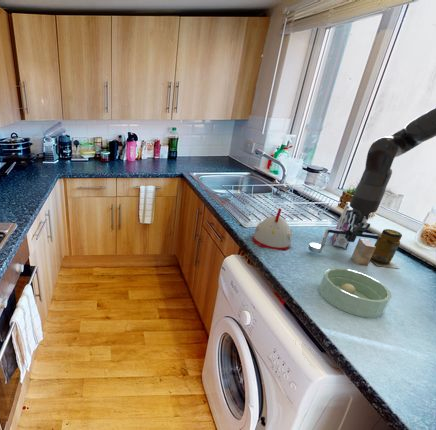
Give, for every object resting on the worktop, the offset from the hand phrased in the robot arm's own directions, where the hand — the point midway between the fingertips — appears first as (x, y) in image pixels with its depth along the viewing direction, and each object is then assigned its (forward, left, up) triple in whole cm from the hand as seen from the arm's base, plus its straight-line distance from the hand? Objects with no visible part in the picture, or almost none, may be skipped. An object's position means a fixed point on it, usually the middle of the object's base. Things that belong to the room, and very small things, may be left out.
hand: (349, 239), depth 105 cm
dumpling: (+6, +23, -6) cm, 25 cm away
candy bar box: (-4, -15, -9) cm, 18 cm away
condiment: (-14, -4, -9) cm, 16 cm away
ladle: (+2, 0, -6) cm, 7 cm away
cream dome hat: (+24, -3, -9) cm, 26 cm away
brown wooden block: (-6, 0, -8) cm, 10 cm away
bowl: (+5, +27, -8) cm, 29 cm away
